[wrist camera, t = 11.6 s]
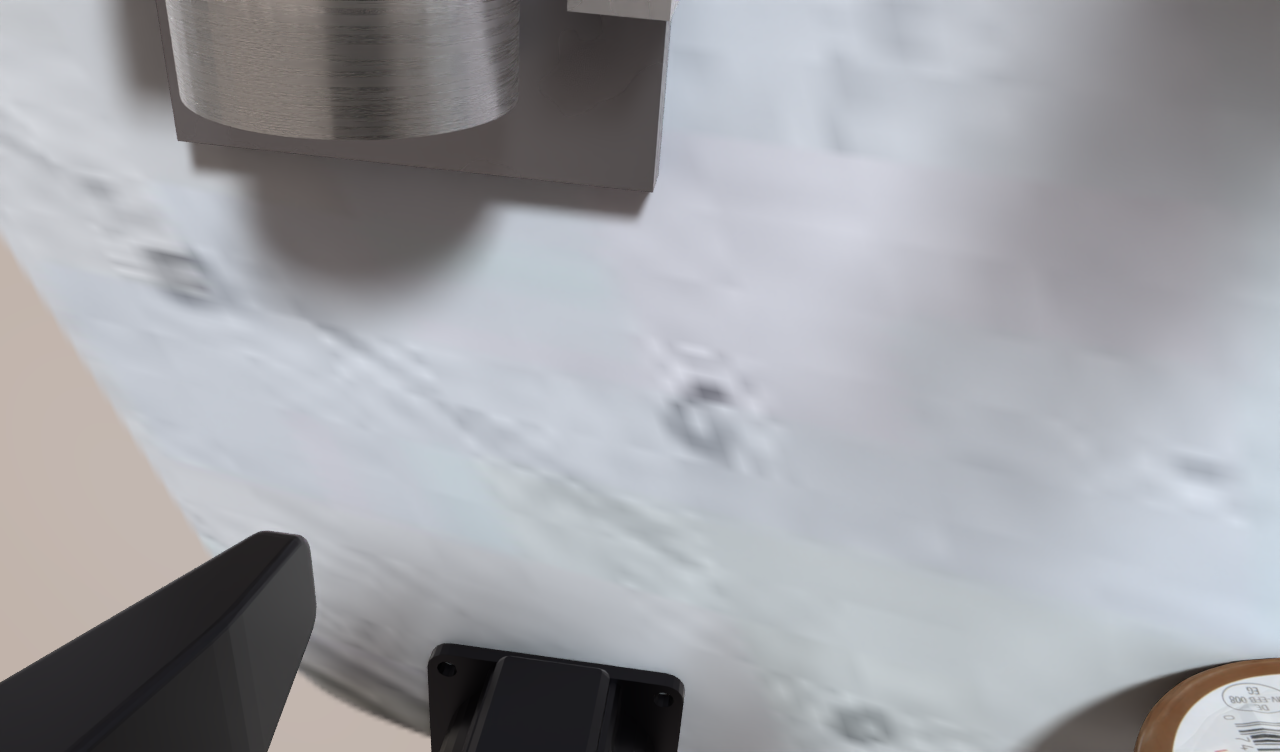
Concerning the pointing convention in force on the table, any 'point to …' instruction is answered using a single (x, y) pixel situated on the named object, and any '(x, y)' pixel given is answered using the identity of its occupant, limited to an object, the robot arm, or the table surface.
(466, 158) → the cradle
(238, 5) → the tube
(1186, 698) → the tin
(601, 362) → the table surface
